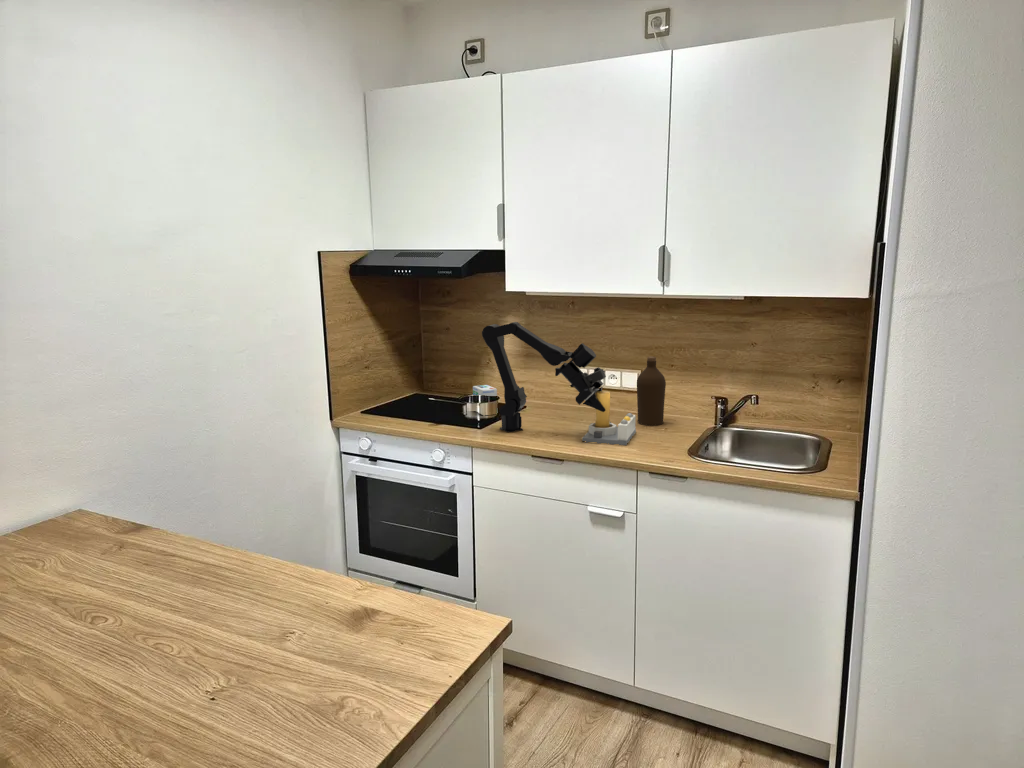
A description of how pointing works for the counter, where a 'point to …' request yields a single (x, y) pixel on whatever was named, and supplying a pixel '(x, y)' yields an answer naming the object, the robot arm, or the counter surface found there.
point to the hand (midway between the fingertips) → (606, 409)
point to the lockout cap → (603, 417)
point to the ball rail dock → (612, 432)
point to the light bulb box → (484, 390)
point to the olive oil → (651, 394)
